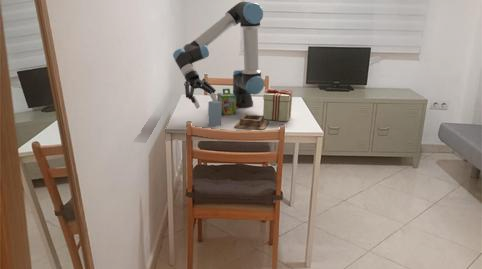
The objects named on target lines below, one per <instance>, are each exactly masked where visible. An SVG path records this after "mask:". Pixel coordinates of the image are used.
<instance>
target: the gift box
mask: <svg viewBox="0 0 482 269" xmlns="http://www.w3.org/2000/svg"><path fill="white" fill-rule="evenodd" d="M263 92H265V93H264V94H263V98H262V99H263V111H262V112H263V115H262V116H264V121H277V122H288V121H289V119H290V118H291V117H292V104H293V103H292V102H293V96H294V91H292V90H291V89H288V88H287V89H282V90H278V89H276V88H270V87H269V88H266V89H265V90H264V91H263Z"/></svg>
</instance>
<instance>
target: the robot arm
mask: <svg viewBox="0 0 482 269" xmlns="http://www.w3.org/2000/svg"><path fill="white" fill-rule="evenodd" d="M263 18H264V10H263V7H262V6H261V5H260V4H259V3H257V2H254V1H240V2H238V3H236V4H235V5H234V6H232V7H231V8H230V9H228V11H227V12H225V15H224V16H223V17H221V18H220V19H219V20H218V21H216V22H215V23H214V24H212V25H211V26H210V27H209V28H208V29H206V30H205V31H204V32H203V33H201V34H200V35H199V36H198V37H197V38H195V39H193V40H192V41H191V42H190V43H187V44H185V45H184V46H183V47H182V48H178V49H176V50H175V51H174V52H173V54H172V57H173V59H174V61H175V63H176V65H177V66H178V69H179V70H180V72H181V74H182V76H183V77H184V80H185V81H184V83H183V84H184V90H185V91H184V92H185V98H187V99H188V100H190V101H191V102H192V103H193V106H195V109H199V108H200V107H201V105H200V103H199V101H198V100H197V98H196V95H194V94H195V93H194V92H195V89H196V90H197V89H200V90H202V91H204V92H206V93H208V94H209V97H210V98H211V101H215V100H216V101H218V100H217V96H216V94H215V93H216V91H217V90H216V89H215V88H214V87H213V86H212V85H211V84H210V83H209V82H208V81H207V80H206V78H202V79H201V78H200V74H199V73H198V71H197V70H196V67H195V66H194V65H193V64H195V63H196V62H199V61H201V60H205V59H206V58H208V57H209V55H210V51H209V49H208V46H209V45H211V43H213V42H215V41H216V40H217V39H218V38H219V37H221V36H222V35H223V34H224V33H226V32H227V31H229V30H230V29H231V28H232V27H233V26H234V27H235V26H237V25H239V24H240V28H241V29H242V33H243V34H242V35H243V36H242V39H243V63H244V64H243V69H235V70H234V71H233V75H232V77H233V78H232V94H234V95H235V96H236V108H251V107H253V106H254V101H253V97H252V95H258V94H260V93H261V92H262V91H263V89H264V88H265V80H264V79H263V77H262V71H261V70H260V69H259V39H258V38H259V36H258V35H259V31H258V29H259V27H260V26H261V21H262V20H263Z"/></svg>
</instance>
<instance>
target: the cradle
mask: <svg viewBox="0 0 482 269" xmlns="http://www.w3.org/2000/svg"><path fill="white" fill-rule="evenodd" d="M269 122H270V120H265V119H264V116H263V115H259V114H258V115H257V114H247V113H244V114H243V115H242V116H241V117H240V119H239V121H237V123H236V124H234V128H235V129H240V130H241V129H243V130H255V131H262V130H266V127H267V126H268V125H269Z"/></svg>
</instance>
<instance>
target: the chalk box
mask: <svg viewBox="0 0 482 269" xmlns="http://www.w3.org/2000/svg"><path fill="white" fill-rule="evenodd" d="M230 89H231V88H222V92H219V93H217V96H216V98H217V100H218V101H220V102H222V109H221V116H226V115H228V116H229V115H236V112H237V111H236V109H237V107H236V96H235V95H234V94H233V92H232V93H231V90H230ZM226 91H227V92H226Z"/></svg>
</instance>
